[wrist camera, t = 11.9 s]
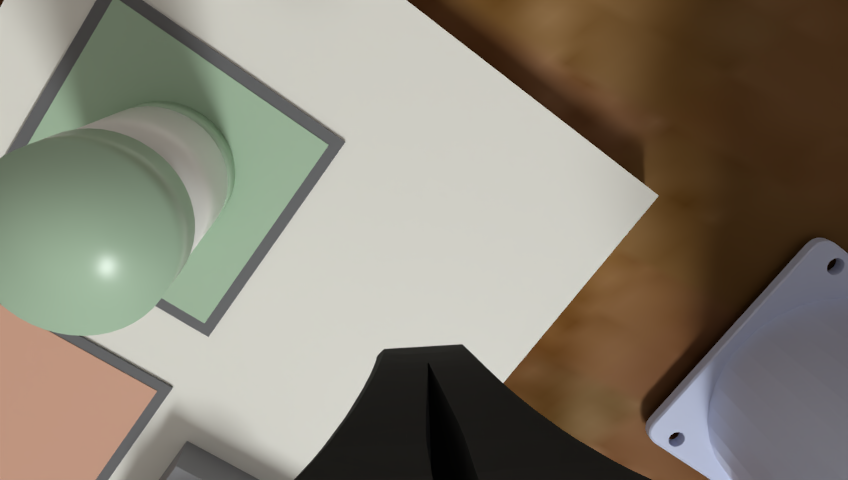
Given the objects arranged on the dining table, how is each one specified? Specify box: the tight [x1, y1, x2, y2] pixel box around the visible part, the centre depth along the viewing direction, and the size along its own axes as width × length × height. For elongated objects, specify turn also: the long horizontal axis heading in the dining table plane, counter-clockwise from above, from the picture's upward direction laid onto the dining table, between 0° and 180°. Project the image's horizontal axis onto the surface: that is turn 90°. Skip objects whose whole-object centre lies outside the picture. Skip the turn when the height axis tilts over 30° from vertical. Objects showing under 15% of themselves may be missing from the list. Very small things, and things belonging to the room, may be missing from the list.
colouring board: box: [0, 0, 659, 480], centre depth 19 cm, size 16×20×2 cm
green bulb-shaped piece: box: [0, 101, 235, 336], centre depth 15 cm, size 4×4×6 cm
